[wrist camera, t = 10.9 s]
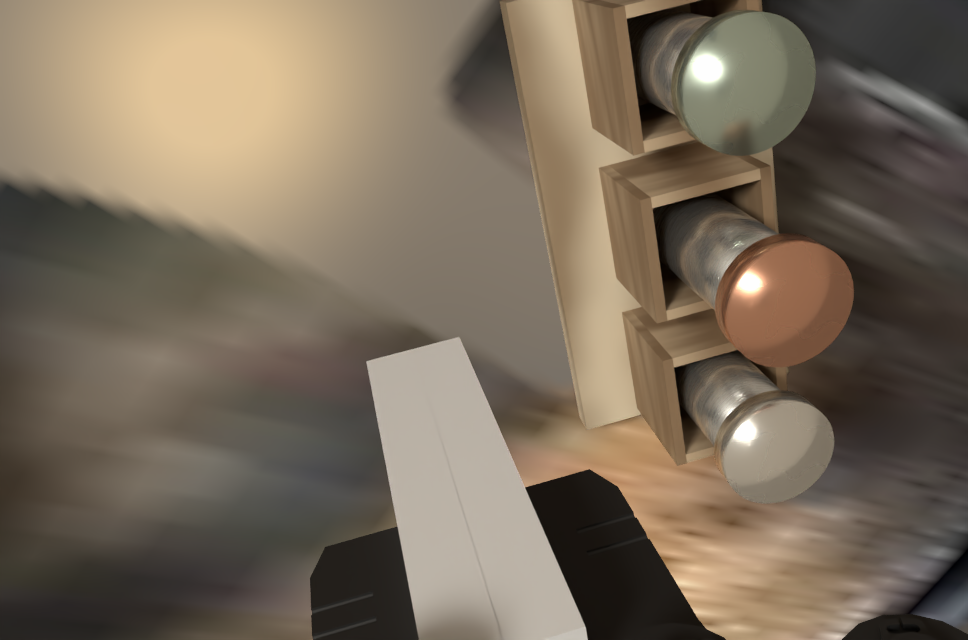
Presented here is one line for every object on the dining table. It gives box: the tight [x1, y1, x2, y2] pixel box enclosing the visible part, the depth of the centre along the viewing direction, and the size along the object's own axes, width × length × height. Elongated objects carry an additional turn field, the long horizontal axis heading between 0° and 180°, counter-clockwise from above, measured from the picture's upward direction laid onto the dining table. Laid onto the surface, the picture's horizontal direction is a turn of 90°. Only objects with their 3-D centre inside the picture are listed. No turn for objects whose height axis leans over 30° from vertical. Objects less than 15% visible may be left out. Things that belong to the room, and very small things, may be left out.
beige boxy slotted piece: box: [500, 0, 789, 466], centre depth 43 cm, size 12×23×8 cm, turn 12°
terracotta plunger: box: [653, 192, 854, 367], centre depth 38 cm, size 5×5×10 cm
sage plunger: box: [627, 9, 816, 156], centre depth 36 cm, size 5×5×10 cm
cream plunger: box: [674, 350, 834, 503], centre depth 43 cm, size 5×5×10 cm
